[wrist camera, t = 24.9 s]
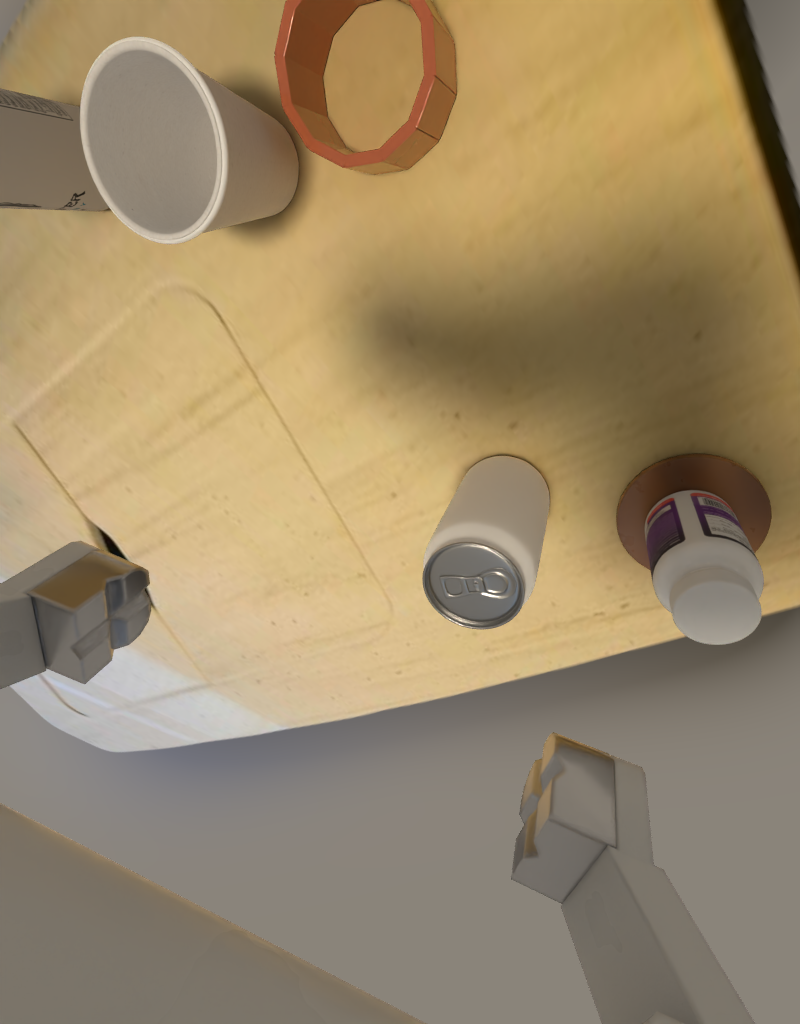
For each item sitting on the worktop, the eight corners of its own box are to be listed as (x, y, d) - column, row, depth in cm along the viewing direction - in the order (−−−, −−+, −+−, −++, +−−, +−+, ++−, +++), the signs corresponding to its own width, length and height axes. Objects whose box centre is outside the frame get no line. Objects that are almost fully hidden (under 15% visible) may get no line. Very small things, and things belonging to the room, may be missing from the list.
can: (557, 529, 39) (543, 634, 29) (472, 538, 42) (431, 637, 32) (541, 446, 37) (519, 529, 27) (451, 461, 39) (401, 542, 29)
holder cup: (398, -62, 27) (366, -108, 24) (485, 98, 29) (468, 79, 25) (288, 72, 32) (245, 51, 28) (370, 204, 33) (340, 202, 30)
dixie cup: (194, 84, 33) (58, 37, 25) (317, 84, 31) (213, 32, 23) (210, 235, 37) (97, 238, 29) (319, 244, 35) (232, 250, 27)
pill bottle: (656, 567, 38) (672, 662, 29) (633, 501, 36) (644, 581, 28) (745, 549, 35) (789, 648, 27) (725, 477, 33) (766, 558, 25)
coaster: (733, 428, 33) (735, 431, 32) (792, 545, 35) (795, 549, 34) (592, 490, 37) (592, 494, 37) (652, 591, 39) (653, 595, 39)
